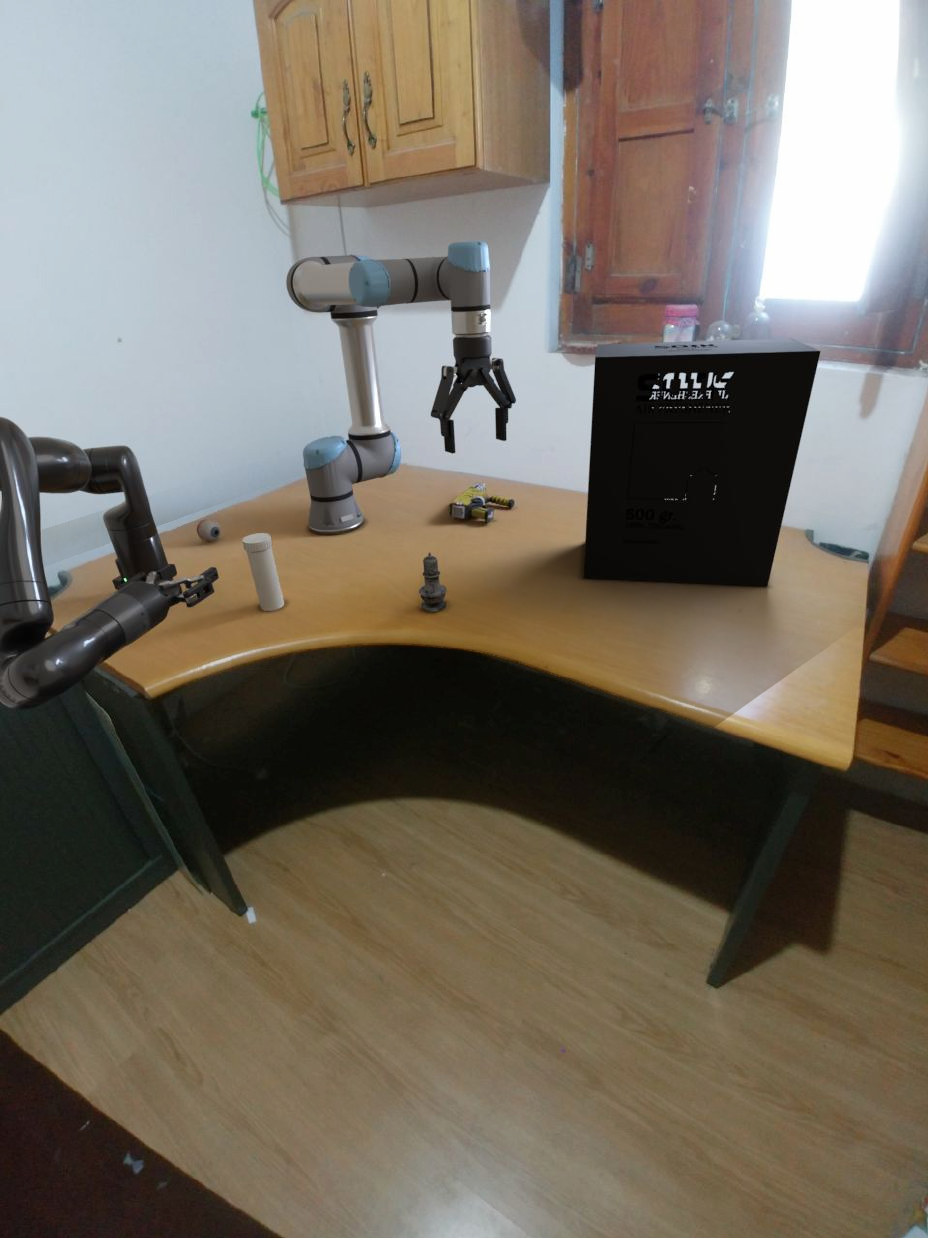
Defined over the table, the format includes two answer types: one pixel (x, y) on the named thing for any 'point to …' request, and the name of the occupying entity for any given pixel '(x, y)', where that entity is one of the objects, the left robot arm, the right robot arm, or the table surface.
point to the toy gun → (476, 504)
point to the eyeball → (208, 530)
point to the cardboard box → (693, 458)
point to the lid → (257, 542)
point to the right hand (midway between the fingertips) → (476, 445)
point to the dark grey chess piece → (432, 586)
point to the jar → (266, 579)
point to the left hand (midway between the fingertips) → (194, 570)
